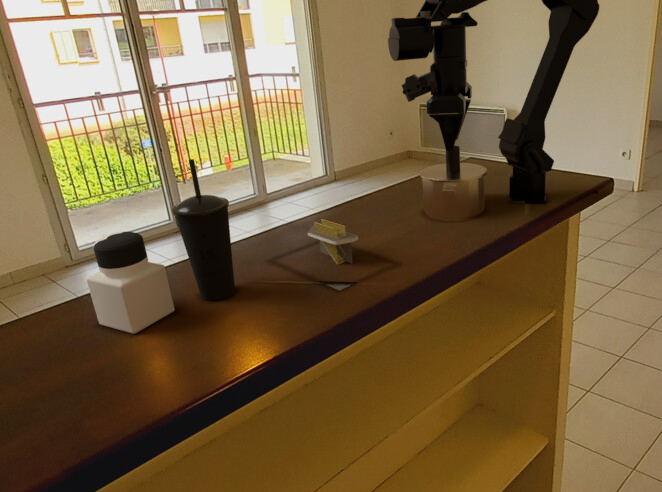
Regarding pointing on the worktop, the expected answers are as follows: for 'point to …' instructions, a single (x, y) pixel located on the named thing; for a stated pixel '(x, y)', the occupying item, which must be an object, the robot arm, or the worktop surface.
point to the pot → (453, 199)
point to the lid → (453, 170)
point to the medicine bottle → (128, 284)
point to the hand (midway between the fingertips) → (452, 145)
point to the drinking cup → (207, 241)
